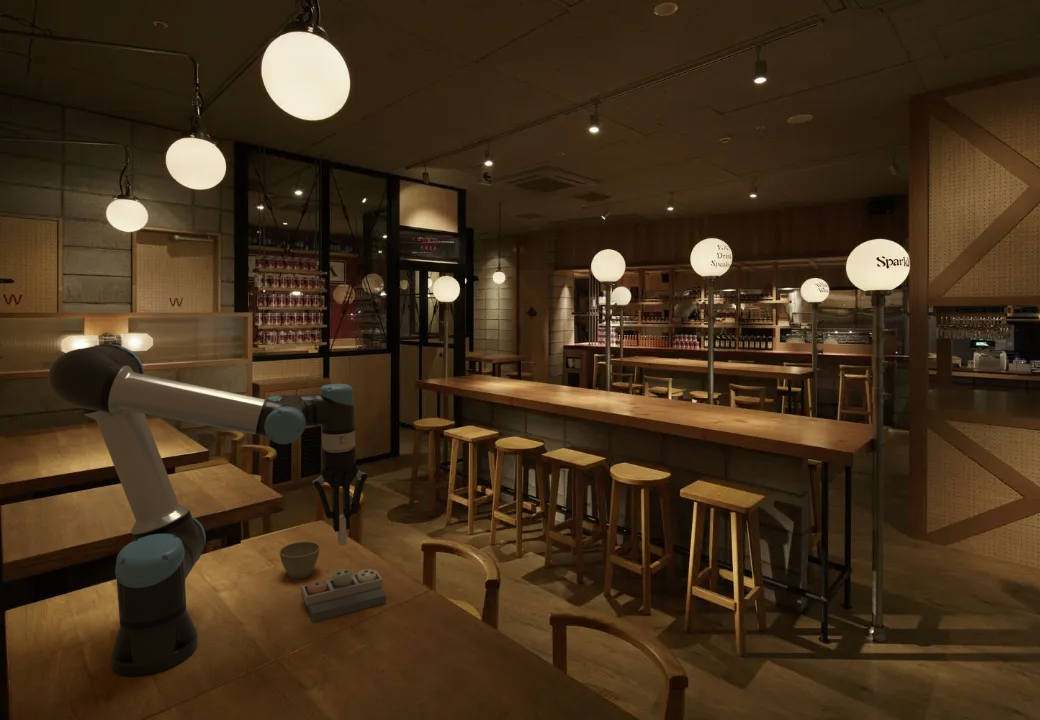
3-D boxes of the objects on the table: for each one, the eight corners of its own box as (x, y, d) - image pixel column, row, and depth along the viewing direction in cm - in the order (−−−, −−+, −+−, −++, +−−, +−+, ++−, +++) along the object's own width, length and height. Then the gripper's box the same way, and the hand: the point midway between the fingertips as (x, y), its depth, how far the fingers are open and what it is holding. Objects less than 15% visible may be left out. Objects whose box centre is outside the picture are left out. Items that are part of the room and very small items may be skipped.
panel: (310, 622, 132) (309, 606, 131) (299, 593, 145) (298, 578, 144) (388, 602, 141) (388, 586, 140) (371, 576, 154) (370, 562, 153)
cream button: (360, 588, 142) (360, 577, 142) (356, 580, 146) (355, 570, 146) (378, 584, 145) (378, 573, 144) (373, 576, 148) (373, 566, 148)
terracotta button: (309, 600, 136) (309, 589, 136) (306, 592, 140) (305, 581, 140) (328, 596, 139) (328, 585, 138) (325, 588, 142) (324, 577, 142)
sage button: (335, 588, 139) (335, 577, 139) (331, 580, 143) (331, 570, 143) (353, 584, 142) (353, 573, 141) (349, 576, 145) (349, 566, 145)
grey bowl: (307, 585, 149) (306, 558, 148) (272, 581, 151) (271, 555, 150) (327, 568, 159) (326, 542, 158) (294, 564, 161) (293, 539, 160)
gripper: (313, 455, 132) (317, 554, 135) (370, 448, 139) (372, 542, 141) (307, 448, 139) (311, 542, 141) (362, 441, 145) (364, 532, 148)
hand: (342, 542), depth 141 cm, fingers closed
